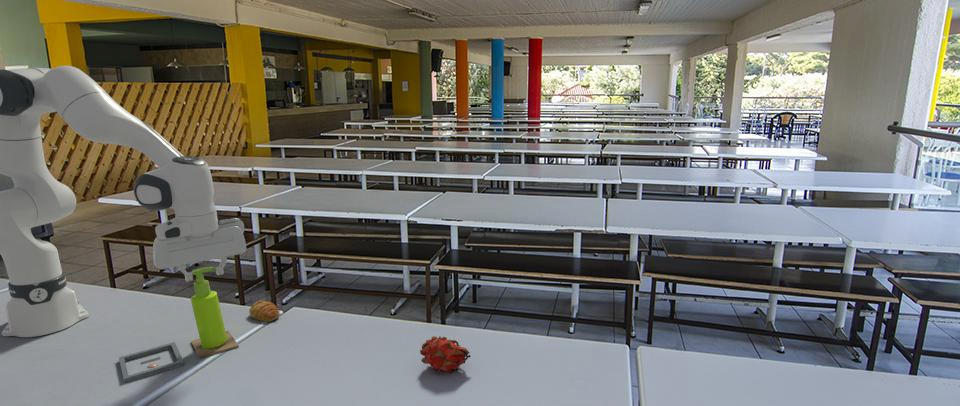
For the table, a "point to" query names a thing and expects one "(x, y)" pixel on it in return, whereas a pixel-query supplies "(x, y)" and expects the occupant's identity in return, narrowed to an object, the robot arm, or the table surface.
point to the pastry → (264, 311)
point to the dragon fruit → (443, 354)
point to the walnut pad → (207, 352)
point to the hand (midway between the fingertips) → (204, 277)
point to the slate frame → (147, 352)
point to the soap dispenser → (207, 311)
